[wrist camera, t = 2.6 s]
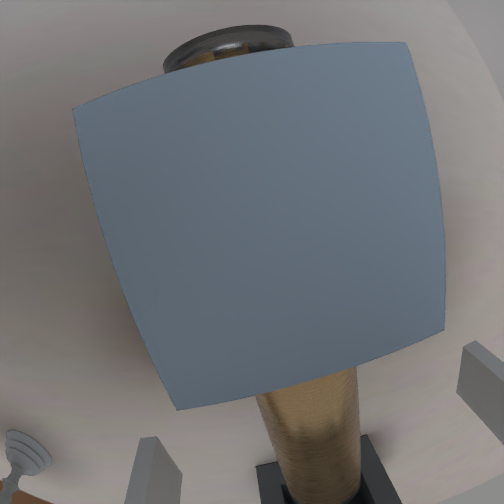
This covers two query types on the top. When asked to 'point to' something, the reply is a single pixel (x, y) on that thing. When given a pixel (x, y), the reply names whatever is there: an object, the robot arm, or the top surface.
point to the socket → (366, 500)
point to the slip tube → (311, 392)
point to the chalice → (22, 461)
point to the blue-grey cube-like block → (270, 215)
